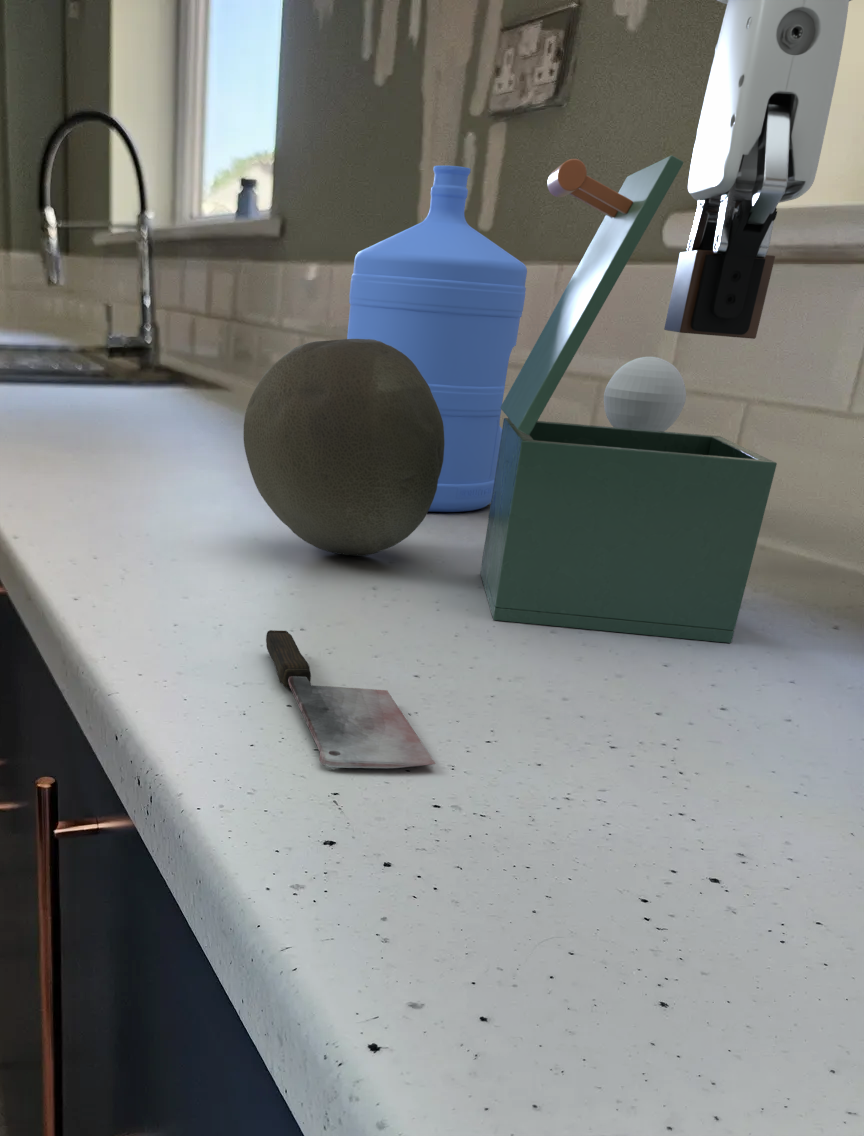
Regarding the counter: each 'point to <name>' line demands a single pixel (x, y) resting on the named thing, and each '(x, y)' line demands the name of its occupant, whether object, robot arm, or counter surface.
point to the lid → (587, 276)
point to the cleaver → (347, 716)
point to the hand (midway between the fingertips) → (707, 327)
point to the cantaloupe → (345, 444)
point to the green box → (623, 529)
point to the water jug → (447, 328)
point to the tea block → (688, 289)
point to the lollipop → (645, 395)
